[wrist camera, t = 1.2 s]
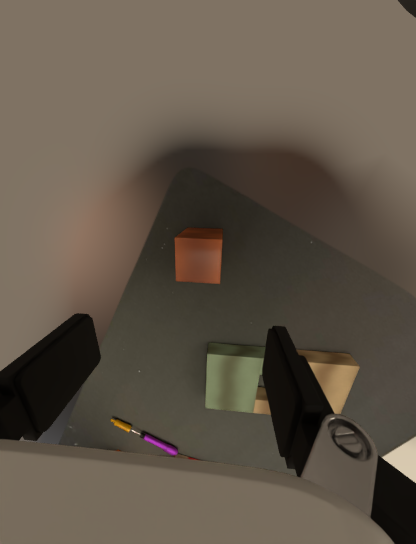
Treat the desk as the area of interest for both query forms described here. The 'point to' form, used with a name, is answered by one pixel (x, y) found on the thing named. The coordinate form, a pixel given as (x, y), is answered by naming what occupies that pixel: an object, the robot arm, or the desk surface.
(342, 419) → the robot arm
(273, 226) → the desk surface
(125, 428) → the purple and yellow rod
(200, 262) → the reddish brown rectangular block
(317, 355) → the green and tan board
